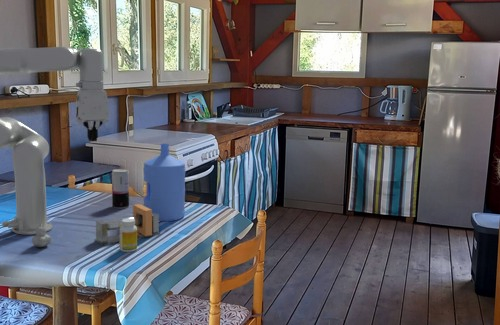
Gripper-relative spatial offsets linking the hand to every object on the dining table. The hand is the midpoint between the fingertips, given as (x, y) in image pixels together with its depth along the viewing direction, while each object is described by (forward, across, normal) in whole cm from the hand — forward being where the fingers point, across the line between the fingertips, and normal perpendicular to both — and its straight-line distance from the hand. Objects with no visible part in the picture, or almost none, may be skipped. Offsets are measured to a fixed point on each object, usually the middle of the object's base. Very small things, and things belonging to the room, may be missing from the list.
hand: (92, 140), depth 179 cm
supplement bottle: (+31, 0, -26) cm, 41 cm away
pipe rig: (+31, +6, -15) cm, 35 cm away
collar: (+31, +11, -15) cm, 36 cm away
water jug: (+31, +28, 0) cm, 42 cm away
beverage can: (+31, +20, +21) cm, 43 cm away
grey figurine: (+31, -21, -9) cm, 39 cm away
